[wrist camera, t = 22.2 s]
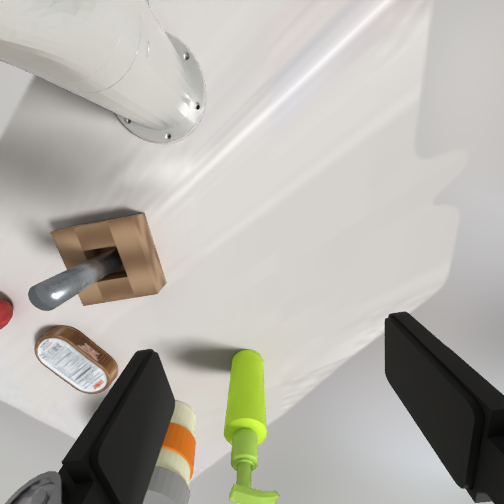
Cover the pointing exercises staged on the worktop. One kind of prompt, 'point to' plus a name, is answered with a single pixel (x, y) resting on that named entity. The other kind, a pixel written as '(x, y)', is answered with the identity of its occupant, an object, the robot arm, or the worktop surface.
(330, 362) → the worktop surface
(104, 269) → the metal rod
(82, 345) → the tin
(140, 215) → the rod stand
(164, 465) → the reusable coffee cup
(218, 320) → the worktop surface
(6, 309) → the onion
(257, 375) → the soap dispenser
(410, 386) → the robot arm
